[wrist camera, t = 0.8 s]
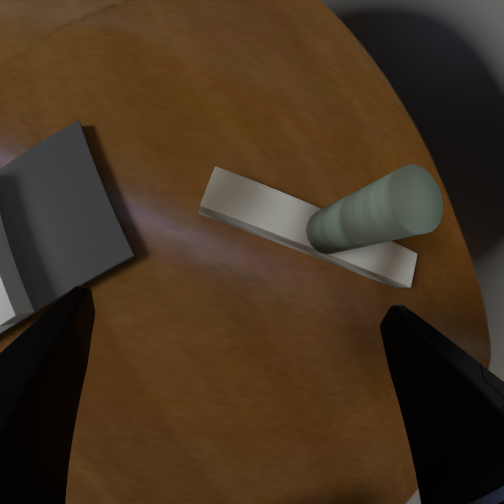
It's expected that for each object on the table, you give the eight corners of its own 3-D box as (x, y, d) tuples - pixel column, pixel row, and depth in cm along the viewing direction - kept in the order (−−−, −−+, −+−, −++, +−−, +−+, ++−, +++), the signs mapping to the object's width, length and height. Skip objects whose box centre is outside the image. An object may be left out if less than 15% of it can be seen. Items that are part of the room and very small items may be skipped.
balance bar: (400, 255, 26) (511, 237, 14) (392, 288, 26) (507, 286, 14) (212, 176, 23) (244, 77, 11) (197, 215, 23) (216, 140, 10)
